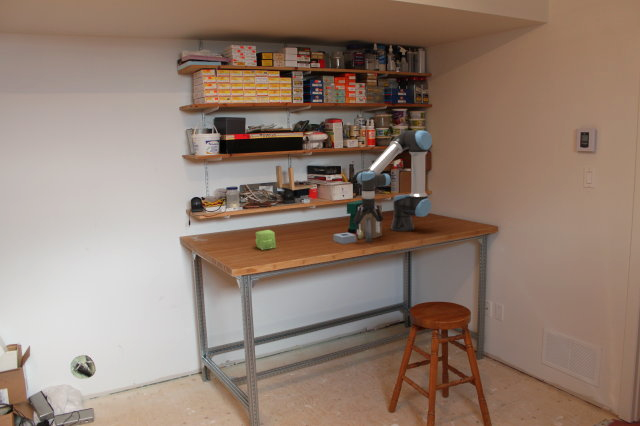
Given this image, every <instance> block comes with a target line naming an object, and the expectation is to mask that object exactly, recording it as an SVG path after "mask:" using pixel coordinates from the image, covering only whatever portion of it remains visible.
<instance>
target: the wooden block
mask: <svg viewBox="0 0 640 426" xmlns="http://www.w3.org/2000/svg"><path fill="white" fill-rule="evenodd" d="M375 205H378V206H379V210H380V212H381V214H382V213H383V212H382V211H383V210H382V209H383V208H382V206H383V205H382V204H381V203H380V204H379V203H375V204H374V206H375ZM360 207H362V205H360ZM362 211H363V210H361V212H362ZM374 211H375V213H376V214H377V212H376V210H375V209H374ZM360 215H361V213H360ZM377 215H378V214H377ZM382 215H383V214H382ZM366 218H371V239H376V238H380V237H382V235H383V234H382V233H383V220H382V221H381V226H380V232H379V233H378V232H376V221H377V220H376V218H375V217H374V216H373V214H372V213H371V214H370V213H369V214H366V215H365V216H364V217H363V219H362V220H361V222H360V230H363V238H366Z"/></svg>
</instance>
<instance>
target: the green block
mask: <svg viewBox="0 0 640 426" xmlns="http://www.w3.org/2000/svg"><path fill="white" fill-rule="evenodd" d="M255 244H256V247H257V248H258V249H260V250H263V251H264V250H271V249H275V248H277V244H276V234H275V232H274V231H273V230H271V229H265V230H258V231H255Z"/></svg>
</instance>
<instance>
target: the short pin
mask: <svg viewBox="0 0 640 426" xmlns="http://www.w3.org/2000/svg"><path fill="white" fill-rule="evenodd" d="M357 239H358V240H364V237H363V230H361V235H357Z"/></svg>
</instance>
